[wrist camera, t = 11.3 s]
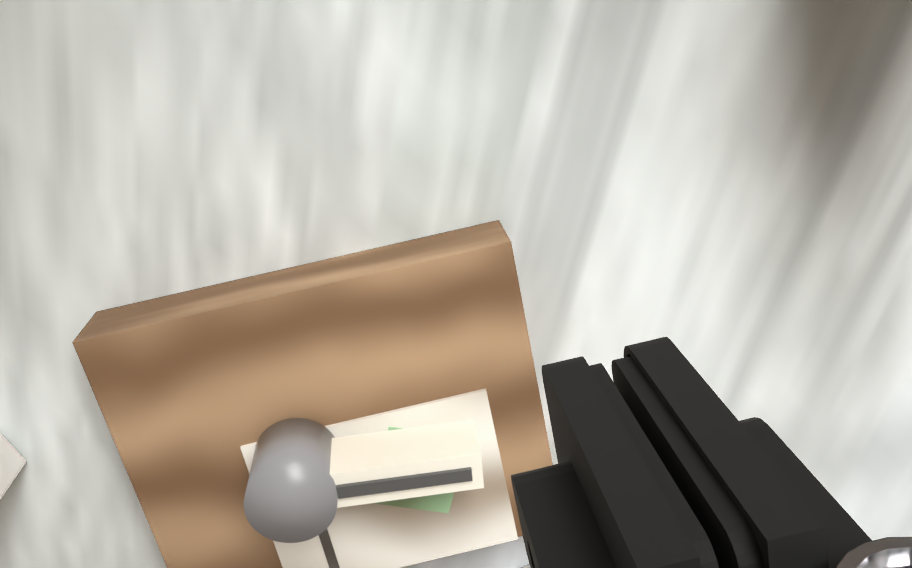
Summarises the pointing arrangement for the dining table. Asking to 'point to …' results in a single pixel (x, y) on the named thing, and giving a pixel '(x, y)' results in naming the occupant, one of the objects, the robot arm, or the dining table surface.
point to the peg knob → (351, 472)
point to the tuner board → (324, 395)
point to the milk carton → (8, 465)
